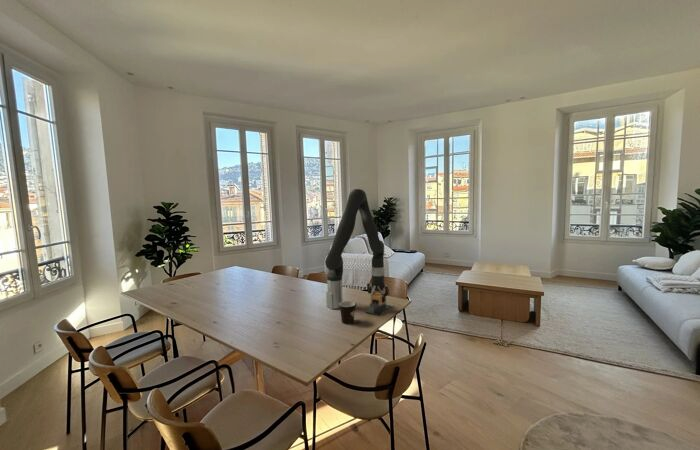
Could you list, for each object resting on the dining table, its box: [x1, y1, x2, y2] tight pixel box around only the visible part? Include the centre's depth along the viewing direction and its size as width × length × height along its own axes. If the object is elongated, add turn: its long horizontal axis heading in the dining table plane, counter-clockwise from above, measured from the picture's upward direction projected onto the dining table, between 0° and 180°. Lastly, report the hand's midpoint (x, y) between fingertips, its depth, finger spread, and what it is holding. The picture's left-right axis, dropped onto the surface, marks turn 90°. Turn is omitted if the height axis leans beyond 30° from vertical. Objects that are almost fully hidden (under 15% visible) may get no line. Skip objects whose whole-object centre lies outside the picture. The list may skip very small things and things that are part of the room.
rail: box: [364, 296, 392, 316], centre depth 182 cm, size 16×9×6 cm, turn 148°
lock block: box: [370, 291, 387, 306], centre depth 182 cm, size 7×6×5 cm
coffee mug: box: [339, 300, 357, 325], centre depth 166 cm, size 12×9×10 cm
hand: (378, 301), depth 182 cm, fingers closed on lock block, 6 cm apart
